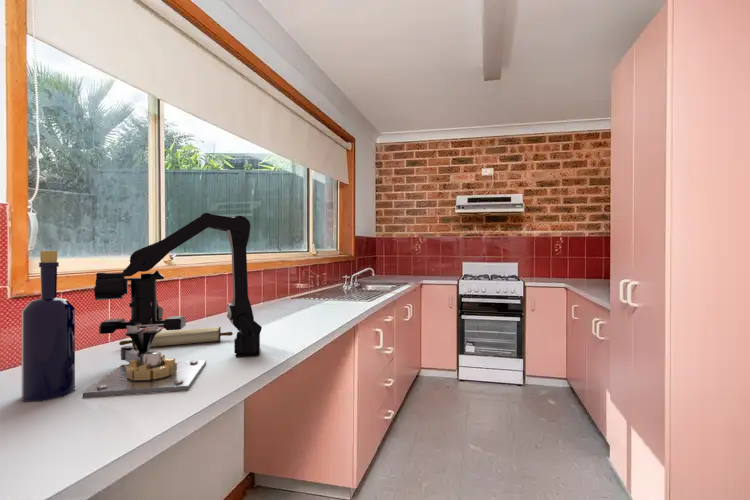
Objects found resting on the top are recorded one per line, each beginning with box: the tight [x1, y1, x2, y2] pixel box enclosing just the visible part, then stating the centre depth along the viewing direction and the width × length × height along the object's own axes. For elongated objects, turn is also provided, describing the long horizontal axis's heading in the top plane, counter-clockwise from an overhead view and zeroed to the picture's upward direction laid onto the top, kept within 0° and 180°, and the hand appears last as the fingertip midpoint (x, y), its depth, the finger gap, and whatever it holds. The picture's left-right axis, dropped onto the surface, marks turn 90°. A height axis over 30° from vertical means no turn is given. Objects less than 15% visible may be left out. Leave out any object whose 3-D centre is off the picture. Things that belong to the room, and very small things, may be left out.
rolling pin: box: [118, 326, 234, 350], centre depth 126 cm, size 32×6×5 cm, turn 114°
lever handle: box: [120, 345, 178, 380], centre depth 97 cm, size 10×22×4 cm, turn 50°
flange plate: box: [82, 350, 207, 399], centre depth 93 cm, size 20×20×6 cm
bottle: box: [20, 250, 77, 403], centre depth 83 cm, size 9×9×30 cm
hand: (144, 357), depth 102 cm, fingers closed
